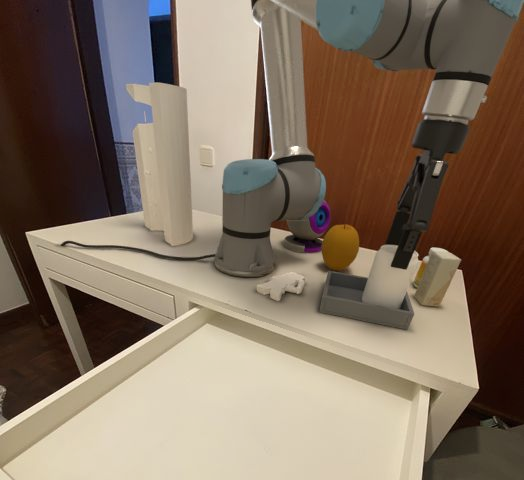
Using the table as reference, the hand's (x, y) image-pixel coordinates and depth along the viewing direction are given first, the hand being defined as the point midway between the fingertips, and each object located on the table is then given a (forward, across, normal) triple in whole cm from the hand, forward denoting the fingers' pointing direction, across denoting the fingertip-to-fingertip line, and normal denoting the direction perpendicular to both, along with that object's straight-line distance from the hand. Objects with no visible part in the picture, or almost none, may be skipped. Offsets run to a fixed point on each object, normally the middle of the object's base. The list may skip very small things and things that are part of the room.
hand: (394, 255), depth 59 cm
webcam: (+12, +34, +21) cm, 42 cm away
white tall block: (+13, +24, +61) cm, 67 cm away
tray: (+12, 0, +3) cm, 12 cm away
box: (+12, +8, -12) cm, 19 cm away
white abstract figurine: (+12, 0, +21) cm, 24 cm away
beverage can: (+11, 0, -1) cm, 11 cm away
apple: (+12, +19, +10) cm, 25 cm away
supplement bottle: (+12, +17, -13) cm, 24 cm away
